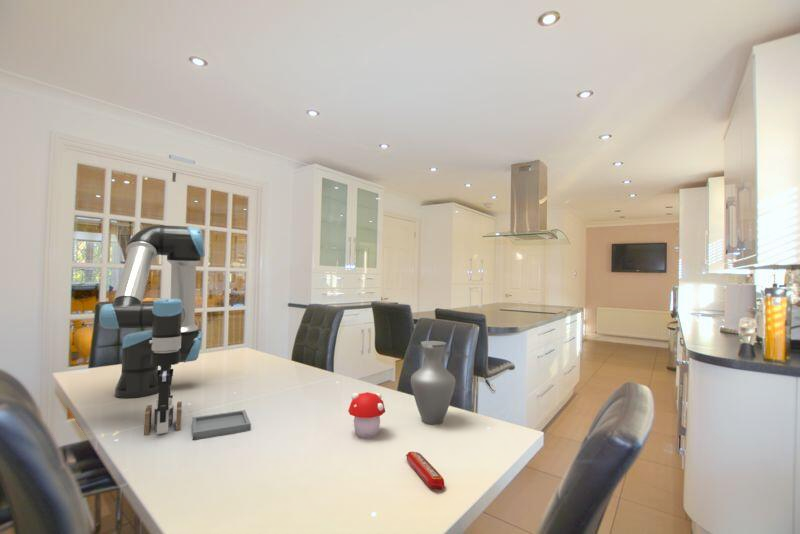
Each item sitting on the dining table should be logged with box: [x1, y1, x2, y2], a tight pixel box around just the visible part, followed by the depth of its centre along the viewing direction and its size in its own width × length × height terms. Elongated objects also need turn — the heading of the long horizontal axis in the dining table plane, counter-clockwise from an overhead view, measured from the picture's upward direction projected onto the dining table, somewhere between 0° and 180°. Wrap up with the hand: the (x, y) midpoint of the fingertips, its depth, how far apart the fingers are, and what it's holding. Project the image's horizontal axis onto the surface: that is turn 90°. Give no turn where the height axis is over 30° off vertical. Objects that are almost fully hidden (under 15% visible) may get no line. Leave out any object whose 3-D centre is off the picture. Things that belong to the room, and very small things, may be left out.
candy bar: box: [405, 451, 446, 490], centre depth 89 cm, size 16×4×3 cm, turn 21°
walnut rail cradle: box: [143, 401, 183, 436], centre depth 113 cm, size 8×9×6 cm
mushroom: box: [347, 391, 386, 439], centre depth 111 cm, size 11×11×12 cm
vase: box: [410, 340, 457, 425], centre depth 123 cm, size 14×14×25 cm
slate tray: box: [191, 409, 252, 441], centre depth 114 cm, size 13×15×2 cm
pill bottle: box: [153, 398, 174, 431], centre depth 113 cm, size 5×5×8 cm
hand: (163, 427), depth 113 cm, fingers open, 9 cm apart
